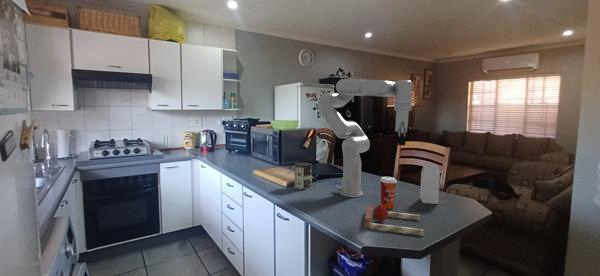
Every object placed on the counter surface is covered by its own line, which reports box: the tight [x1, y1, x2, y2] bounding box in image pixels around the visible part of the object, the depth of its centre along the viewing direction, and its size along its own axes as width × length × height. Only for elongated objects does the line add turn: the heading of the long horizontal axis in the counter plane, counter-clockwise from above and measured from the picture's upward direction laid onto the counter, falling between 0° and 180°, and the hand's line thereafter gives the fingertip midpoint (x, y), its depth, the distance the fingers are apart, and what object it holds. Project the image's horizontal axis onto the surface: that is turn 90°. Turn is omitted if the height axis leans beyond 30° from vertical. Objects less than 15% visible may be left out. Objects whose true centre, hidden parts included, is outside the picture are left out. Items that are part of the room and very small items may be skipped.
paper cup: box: [380, 176, 398, 210], centre depth 136 cm, size 8×8×14 cm
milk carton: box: [419, 163, 441, 205], centre depth 144 cm, size 7×7×19 cm
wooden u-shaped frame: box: [364, 204, 425, 236], centre depth 117 cm, size 21×16×4 cm
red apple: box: [373, 203, 389, 223], centre depth 118 cm, size 6×6×8 cm
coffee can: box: [293, 162, 313, 190], centre depth 168 cm, size 10×10×14 cm
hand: (401, 143), depth 135 cm, fingers open, 9 cm apart
